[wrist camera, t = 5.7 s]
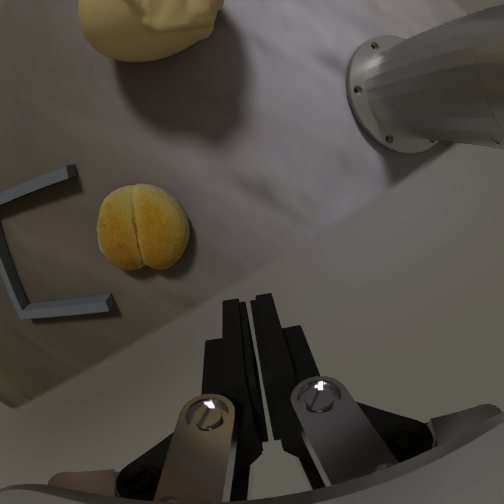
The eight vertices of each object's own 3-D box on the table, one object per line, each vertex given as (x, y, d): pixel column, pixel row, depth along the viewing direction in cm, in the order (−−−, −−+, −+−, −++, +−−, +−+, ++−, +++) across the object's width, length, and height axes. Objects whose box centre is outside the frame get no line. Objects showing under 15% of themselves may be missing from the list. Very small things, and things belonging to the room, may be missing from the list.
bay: (74, 164, 24) (66, 166, 22) (114, 302, 30) (109, 311, 28) (-12, 199, 24) (-21, 203, 22) (26, 312, 30) (20, 319, 28)
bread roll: (193, 263, 29) (188, 281, 25) (110, 264, 28) (96, 281, 25) (189, 179, 26) (182, 185, 22) (100, 185, 25) (82, 193, 22)
